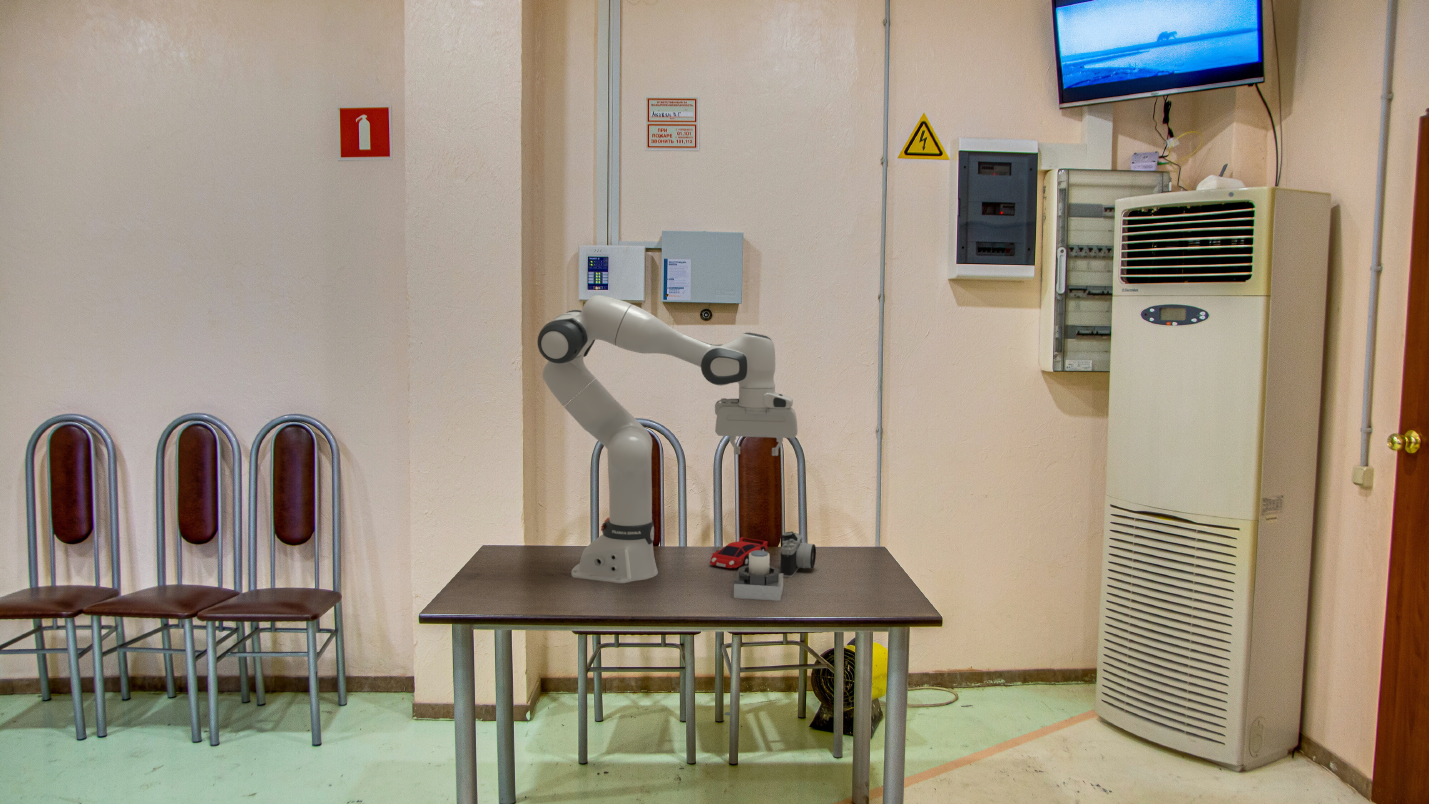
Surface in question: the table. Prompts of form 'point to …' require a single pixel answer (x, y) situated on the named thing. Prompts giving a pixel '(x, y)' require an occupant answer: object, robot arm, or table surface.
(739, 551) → the toy car
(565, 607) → the table surface
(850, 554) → the table surface
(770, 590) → the grey ring holder
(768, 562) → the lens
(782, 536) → the camera
